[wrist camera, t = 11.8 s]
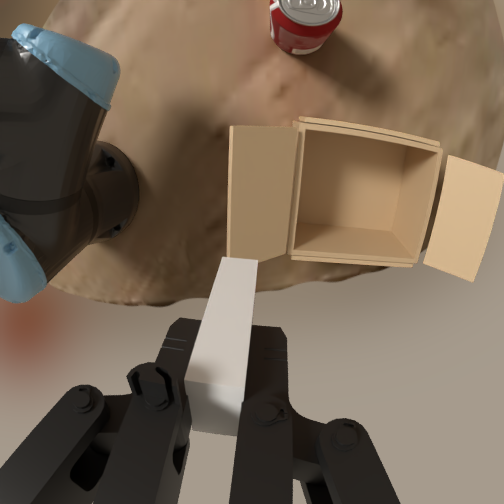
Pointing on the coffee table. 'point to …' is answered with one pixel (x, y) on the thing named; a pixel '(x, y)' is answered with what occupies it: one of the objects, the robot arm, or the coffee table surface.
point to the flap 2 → (464, 218)
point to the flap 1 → (259, 190)
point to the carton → (360, 193)
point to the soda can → (303, 23)
